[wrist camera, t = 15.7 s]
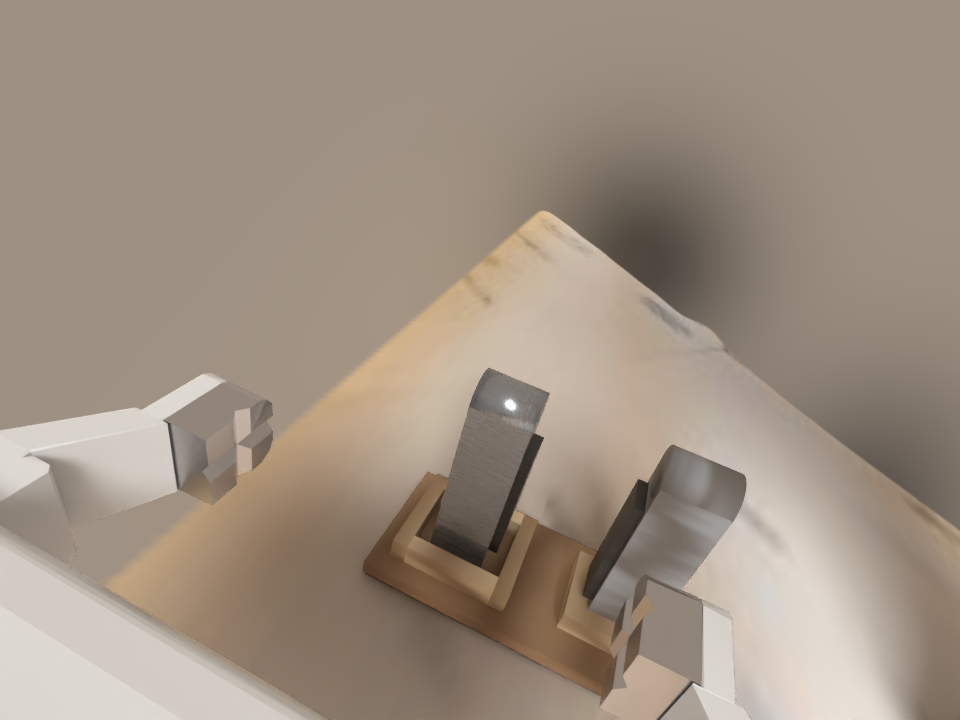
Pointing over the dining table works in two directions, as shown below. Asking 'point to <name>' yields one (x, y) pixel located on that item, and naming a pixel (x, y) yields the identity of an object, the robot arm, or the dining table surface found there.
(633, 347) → the dining table surface
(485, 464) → the grey tall block
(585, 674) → the twin post stand
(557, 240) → the dining table surface
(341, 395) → the dining table surface
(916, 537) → the dining table surface
